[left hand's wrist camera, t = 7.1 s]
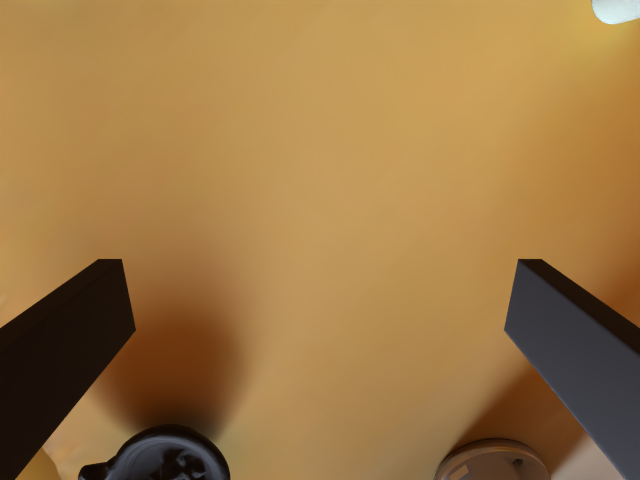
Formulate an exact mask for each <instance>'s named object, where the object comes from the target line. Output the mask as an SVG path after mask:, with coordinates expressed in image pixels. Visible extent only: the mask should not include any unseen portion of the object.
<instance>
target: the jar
mask: <svg viewBox="0 0 640 480" xmlns="http://www.w3.org/2000/svg"><path fill="white" fill-rule="evenodd" d="M592 7H593V10H594V13H595V15H596V16H597V17H598V19H600V20H601V21H603V22H605V23H607V24H619V23H622V22H626V21H630V20H634V19H637V18H640V0H592Z"/></svg>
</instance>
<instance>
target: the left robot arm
mask: <svg viewBox="0 0 640 480" xmlns="http://www.w3.org/2000/svg"><path fill="white" fill-rule="evenodd" d="M135 331H136V328H135V323H134V318H133V313H132V308H131V303H130V298H129V293H128V288H127V283H126V278H125V273H124V268H123V263H122V259H98V260H97V261H95V262H94V263H92V264H91V265H89V266H88V267H87V268H85V269H84V270H82V271H81V272H79V273H78V274H77V275H75V276H74V277H72V278H71V279H70V280H68V281H67V282H65V283H64V284H62V285H61V286H60V287H58V288H57V289H55V290H54V291H52V292H51V293H50V294H48V295H47V296H45V297H44V298H43V299H41V300H40V301H38V302H37V303H35V304H34V305H33V306H31V307H30V308H28V309H27V310H25V311H24V312H23V313H21V314H20V315H18V316H17V317H16V318H14V319H13V320H11V321H10V322H8V323H7V324H6V325H4V326H3V327H1V328H0V480H15V479H16V478H17V476H18V475H19V474H20V473H21V472H22V470H23V469H24V468H25V467H26V465H27V464H28V463H29V462H30V460H31V459H32V458H33V457H34V455H35V454H36V453H37V452H38V450H39V449H40V448H41V447H42V446H43V444H44V443H45V442H46V441H47V439H48V438H49V437H50V436H51V434H52V433H53V432H54V431H55V430H56V428H57V427H58V426H59V425H60V423H61V422H62V421H63V420H64V418H65V417H66V416H67V415H68V414H69V412H70V411H71V410H72V409H73V407H74V406H75V405H76V404H77V402H78V401H79V400H80V399H81V397H82V396H83V395H84V394H85V393H86V391H87V390H88V389H89V388H90V386H91V385H92V384H93V383H94V381H95V380H96V379H97V378H98V376H99V375H100V374H101V373H102V372H103V370H104V369H105V368H106V367H107V365H108V364H109V363H110V362H111V360H112V359H113V358H114V357H115V356H116V354H117V353H118V352H119V351H120V349H121V348H122V347H123V346H124V344H125V343H126V342H127V341H128V339H129V338H130V337H131V336H132V335H133V333H134V332H135ZM504 331H505V332H506V333H507V335H508V336H509V337H510V338H511V339H512V341H513V342H514V343H515V344H516V346H517V347H518V348H519V349H520V351H521V352H522V353H523V354H524V356H525V357H526V358H527V359H528V360H529V362H530V363H531V364H532V365H533V367H534V368H535V369H536V370H537V372H538V373H539V374H540V375H541V376H542V378H543V379H544V380H545V381H546V383H547V384H548V385H549V386H550V388H551V389H552V390H553V391H554V393H555V394H556V395H557V396H558V397H559V399H560V400H561V401H562V402H563V404H564V405H565V406H566V407H567V409H568V410H569V411H570V412H571V414H572V415H573V416H574V417H575V418H576V420H577V421H578V422H579V423H580V425H581V426H582V427H583V428H584V430H585V431H586V432H587V433H588V434H589V436H590V437H591V438H592V439H593V441H594V442H595V443H596V444H597V446H598V447H599V448H600V449H601V451H602V452H603V453H604V454H605V455H606V457H607V458H608V459H609V460H610V462H611V463H612V464H613V465H614V467H615V468H616V469H617V470H618V472H619V473H620V474H621V475H622V476H623V478H624V479H625V480H640V328H639V327H637V326H636V325H634V324H633V323H632V322H630V321H629V320H627V319H626V318H624V317H623V316H622V315H620V314H619V313H617V312H616V311H614V310H613V309H612V308H610V307H609V306H607V305H606V304H605V303H603V302H602V301H600V300H599V299H597V298H596V297H595V296H593V295H592V294H590V293H589V292H588V291H586V290H585V289H583V288H582V287H580V286H579V285H578V284H576V283H575V282H573V281H572V280H570V279H569V278H568V277H566V276H565V275H563V274H562V273H561V272H559V271H558V270H556V269H555V268H553V267H552V266H551V265H549V264H548V263H546V262H545V261H543V260H542V259H518V263H517V268H516V273H515V278H514V283H513V288H512V293H511V298H510V303H509V308H508V313H507V318H506V323H505V328H504ZM434 480H551V478H550V475H549V472H548V471H547V469H546V467H545V466H544V464H543V463H542V461H541V459H540V458H539V456H538V455H537V454H536V453H535V452H534V451H533V450H532V449H531V448H529V447H527V446H526V445H524V444H521V443H519V442H515V441H511V440H505V439H489V440H483V441H478V442H474V443H471V444H468V445H466V446H464V447H462V448H460V449H458V450H456V451H455V452H453V453H452V454H451V455H449V456H448V457H447V458H446V459H445V460H444V461H443V462H442V464H441V465H440V466H439V468H438V470H437V472H436V474H435V478H434Z"/></svg>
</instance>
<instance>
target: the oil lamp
mask: <svg viewBox="0 0 640 480" xmlns="http://www.w3.org/2000/svg"><path fill="white" fill-rule="evenodd" d="M78 480H230V472H229V467H228V464H227V462H226V460H225V458H224V456H223V455H222V453H221V452H220V450H219V449H218V448H217V447H216V446H215V445H214V444H213V443H212V442H211V441H210V440H209V439H208V438H206V437H205V436H203V435H202V434H200V433H198V432H196V431H195V430H193V429H191V428H189V427H186V426H182V425H177V424H166V425H159V426H154V427H151V428H148V429H146V430H143V431H141V432H140V433H138V434H136V435H134V436H133V437H131V438H130V439H129V440H128V441H126V442H125V443H124V444H123V446H122V447H121V448H120V449H119V451H118V452H117V454H116V456H114V457H113V458H111V459H110V460H109V461H108V462H104V463H97V464H91V465H85V466H83V467H82V468H81V470H80V472H79V475H78Z"/></svg>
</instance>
